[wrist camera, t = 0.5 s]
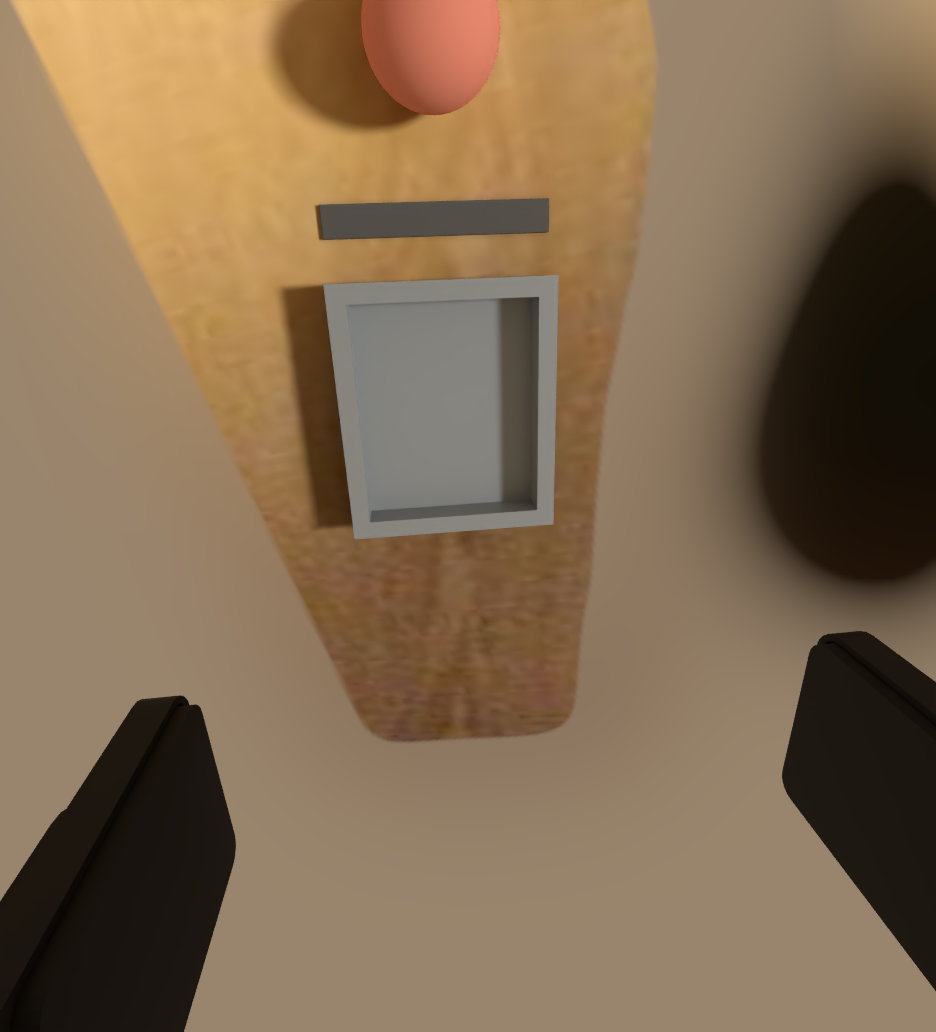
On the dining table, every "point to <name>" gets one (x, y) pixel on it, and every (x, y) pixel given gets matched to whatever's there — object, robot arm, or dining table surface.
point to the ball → (431, 50)
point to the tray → (446, 402)
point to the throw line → (434, 218)
